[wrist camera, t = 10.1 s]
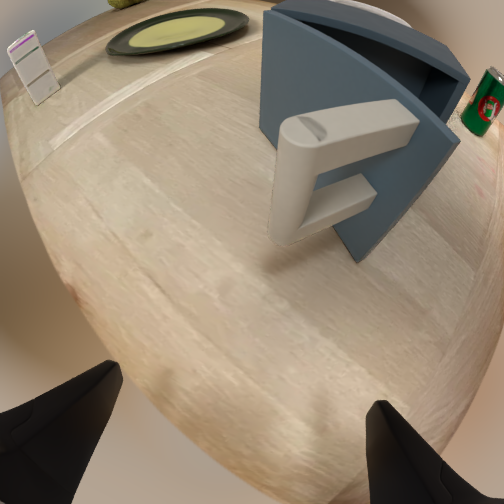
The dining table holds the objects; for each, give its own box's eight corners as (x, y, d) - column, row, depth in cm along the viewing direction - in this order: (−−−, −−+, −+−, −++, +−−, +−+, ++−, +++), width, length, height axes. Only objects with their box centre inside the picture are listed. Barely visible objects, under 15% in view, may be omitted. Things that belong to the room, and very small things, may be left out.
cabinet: (411, 176, 23) (471, 79, 11) (264, 124, 25) (271, 7, 13) (409, 127, 26) (447, 46, 15) (288, 85, 28) (298, -6, 17)
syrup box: (61, 88, 32) (36, 28, 18) (35, 107, 30) (5, 49, 17) (56, 82, 33) (34, 27, 20) (32, 100, 32) (6, 47, 18)
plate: (263, 17, 42) (263, 8, 40) (221, 62, 31) (220, 48, 29) (153, 20, 44) (151, 13, 42) (80, 73, 33) (77, 63, 31)
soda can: (466, 115, 30) (493, 66, 19) (486, 136, 28) (517, 88, 17) (455, 116, 29) (484, 62, 18) (476, 139, 27) (510, 86, 16)
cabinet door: (281, 303, 18) (336, 185, 6) (197, 148, 23) (175, 24, 12) (364, 258, 19) (461, 140, 8) (266, 125, 24) (273, 10, 13)
